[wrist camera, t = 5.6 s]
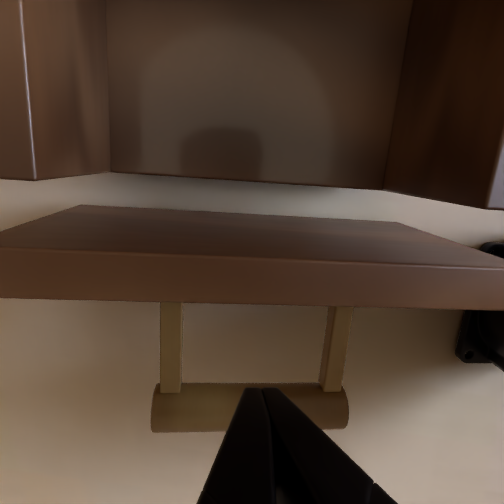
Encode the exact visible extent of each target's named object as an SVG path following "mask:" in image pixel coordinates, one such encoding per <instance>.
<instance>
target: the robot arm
mask: <svg viewBox="0 0 504 504" xmlns="http://www.w3.org/2000/svg"><path fill="white" fill-rule="evenodd" d="M492 250H494V252H493V254H492V255H494V256H497V257H500V258H503V259H504V243H499V242H489V243H486V244H484V245H483V246H482V247H481V249H480V251H482V252H485V253H488V254H490V253H491V251H492ZM467 351H468V352H467ZM466 352H467V353H466ZM465 353H466V354H465ZM455 354H456V356H457V357H458V358H459V359H460V360H461V361H463V362H464V363H493V364H494V365H495V366H497V367H498V368H499V369H501V370H502V371H504V311H498V310H465V313H464V317H463V321H462V325H461V329H460V333H459V337H458V342H457V346H456V350H455ZM373 483H374V481H373V480H372V479H371V478H370V477H369V476H368V475H367V474H366V473H365V472H364V471H363V470H362V469H361V468H360V467H359V466H358V465H357V464H356V463H355V462H354V461H353V460H352V459H351V458H350V457H349V456H348V455H347V454H346V453H345V452H344V451H343V450H342V449H341V448H340V447H339V446H338V445H337V444H336V443H335V442H333V441H332V440H331V439H330V438H329V437H328V436H327V435H326V434H325V433H324V432H323V431H322V430H321V429H320V428H319V427H318V426H317V425H316V424H315V423H314V422H313V421H312V420H311V419H310V418H309V417H308V416H307V415H306V414H305V413H304V412H303V411H302V410H301V409H300V408H299V407H298V406H297V405H296V404H294V403H293V402H292V401H291V400H290V399H289V398H288V397H287V396H286V395H285V394H284V393H283V392H282V391H281V390H280V389H279V388H278V387H263V388H262V389H261V388H259V387H246V388H245V389H244V390H243V393H242V395H241V397H240V400H239V402H238V405H237V407H236V410H235V412H234V414H233V417H232V419H231V422H230V424H229V427H228V429H227V431H226V434H225V436H224V439H223V441H222V444H221V446H220V448H219V451H218V453H217V456H216V458H215V461H214V463H213V465H212V468H211V470H210V473H209V475H208V478H207V480H206V482H205V485H204V487H203V491H202V492H201V494H200V496H199V499H198V501H197V504H398V503H397V502H395V501H394V500H393V499H392V498H391V497H390V496H389V495H388V494H387V493H386V492H385V491H384V490H383V489H382V488H381V487H380V486H379V485H378V484H377V483H374V484H373Z"/></svg>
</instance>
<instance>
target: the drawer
mask: <svg viewBox="0 0 504 504" xmlns="http://www.w3.org/2000/svg"><path fill="white" fill-rule="evenodd" d="M107 172H115V173H130V174H145V175H160V176H175V177H189V178H204V179H219V180H234V181H249V182H264V183H279V184H294V185H308V186H323V187H338V188H353V189H368V190H383V191H388V192H393V193H399V194H404V195H410V196H415V197H421V198H426V199H432V200H437V201H442V202H448V203H453V204H459V205H464V206H470V207H475V208H481V209H488V210H503V211H504V0H0V179H9V180H25V181H39V180H48V179H56V178H65V177H73V176H82V175H90V174H99V173H107ZM0 298H18V299H58V300H98V301H138V302H160V383H157V384H156V386H155V389H154V393H153V399H152V407H151V431H152V432H153V433H170V432H224V431H227V429H228V427H229V424H230V422H231V419H232V417H233V414H234V412H235V410H236V407H237V405H238V402H239V400H240V397H241V395H242V393H243V390H244V389H245V388H246V387H259V388H261V389H262V388H263V387H278V388H279V389H280V390H281V391H282V392H283V393H284V394H285V395H286V396H287V397H288V398H289V399H290V400H291V401H292V402H293V403H294V404H296V405H297V406H298V407H299V408H300V409H301V410H302V411H303V412H304V413H305V414H306V415H307V416H308V417H309V418H310V419H311V420H312V421H313V422H314V423H315V424H316V425H317V426H318V427H319V428H320V429H321V430H331V429H344V428H346V426H347V424H348V419H349V406H348V400H347V395H346V392H345V390H344V388H343V386H342V380H343V373H344V367H345V361H346V354H347V348H348V342H349V335H350V329H351V322H352V316H353V310H354V307H378V308H418V309H458V310H498V311H504V259H503V258H500V257H497V256H494V255H491V254H488V253H485V252H482V251H479V250H476V249H474V248H471V247H468V246H465V245H462V244H459V243H456V242H453V241H450V240H447V239H444V238H442V237H439V236H436V235H433V234H430V233H427V232H424V231H421V230H418V229H415V228H412V227H409V226H407V225H404V224H401V223H398V222H382V221H364V220H347V219H329V218H311V217H293V216H275V215H257V214H239V213H222V212H204V211H186V210H168V209H150V208H132V207H115V206H97V205H78V206H75V207H72V208H69V209H66V210H63V211H60V212H57V213H54V214H51V215H48V216H45V217H42V218H39V219H36V220H33V221H30V222H27V223H24V224H21V225H18V226H15V227H12V228H9V229H6V230H3V231H0ZM184 303H218V304H258V305H298V306H329V307H328V315H327V322H326V329H325V336H324V344H323V351H322V358H321V366H320V373H319V380H318V381H319V383H182V354H183V311H184Z"/></svg>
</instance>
